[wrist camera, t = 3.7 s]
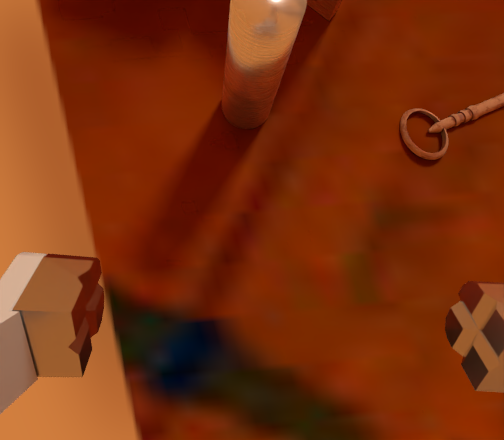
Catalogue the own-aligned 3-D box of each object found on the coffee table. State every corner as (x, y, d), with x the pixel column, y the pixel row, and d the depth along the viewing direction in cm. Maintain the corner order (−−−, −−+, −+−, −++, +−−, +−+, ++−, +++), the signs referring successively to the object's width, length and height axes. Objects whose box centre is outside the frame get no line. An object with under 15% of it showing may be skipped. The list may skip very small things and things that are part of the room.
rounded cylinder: (280, 109, 27) (322, 3, 18) (244, 138, 27) (266, 45, 17) (247, 74, 28) (271, -50, 18) (211, 102, 27) (215, -10, 17)
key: (540, 33, 32) (374, 97, 29) (549, 24, 31) (379, 90, 28) (584, 95, 31) (416, 169, 28) (595, 88, 30) (423, 163, 27)
